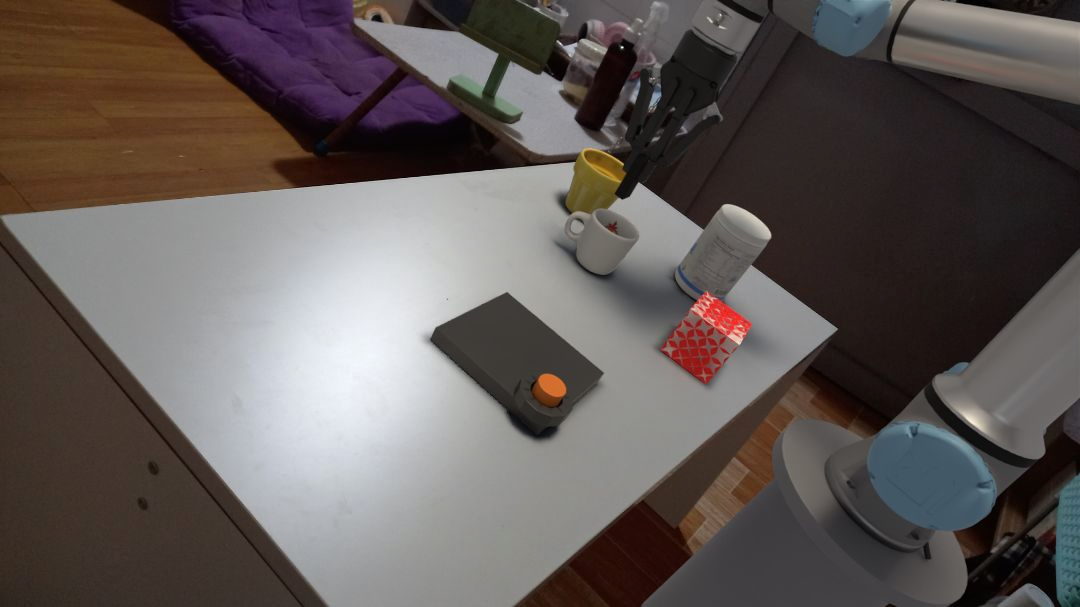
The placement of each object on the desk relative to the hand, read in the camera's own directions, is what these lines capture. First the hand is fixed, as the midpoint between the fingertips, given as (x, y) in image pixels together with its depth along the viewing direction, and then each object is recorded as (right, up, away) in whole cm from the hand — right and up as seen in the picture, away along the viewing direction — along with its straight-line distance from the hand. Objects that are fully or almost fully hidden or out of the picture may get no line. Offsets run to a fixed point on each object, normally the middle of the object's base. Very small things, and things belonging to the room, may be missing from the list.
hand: (622, 195), depth 94 cm
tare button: (-11, -25, -26) cm, 38 cm away
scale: (-15, -23, -19) cm, 33 cm away
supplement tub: (+15, -13, +17) cm, 27 cm away
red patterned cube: (+10, -23, 0) cm, 25 cm away
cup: (-5, -9, +8) cm, 13 cm away
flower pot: (-5, +1, +21) cm, 22 cm away
